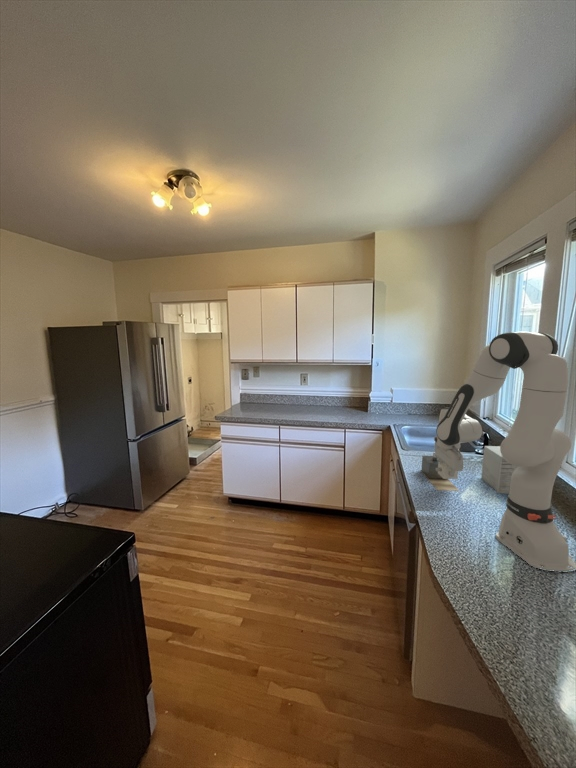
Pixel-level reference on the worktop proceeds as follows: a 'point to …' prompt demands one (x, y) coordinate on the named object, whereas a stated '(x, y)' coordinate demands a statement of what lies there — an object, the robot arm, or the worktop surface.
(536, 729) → the worktop surface
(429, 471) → the stepped grey block
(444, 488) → the board
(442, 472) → the pump housing
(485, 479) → the supplement box
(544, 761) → the worktop surface
